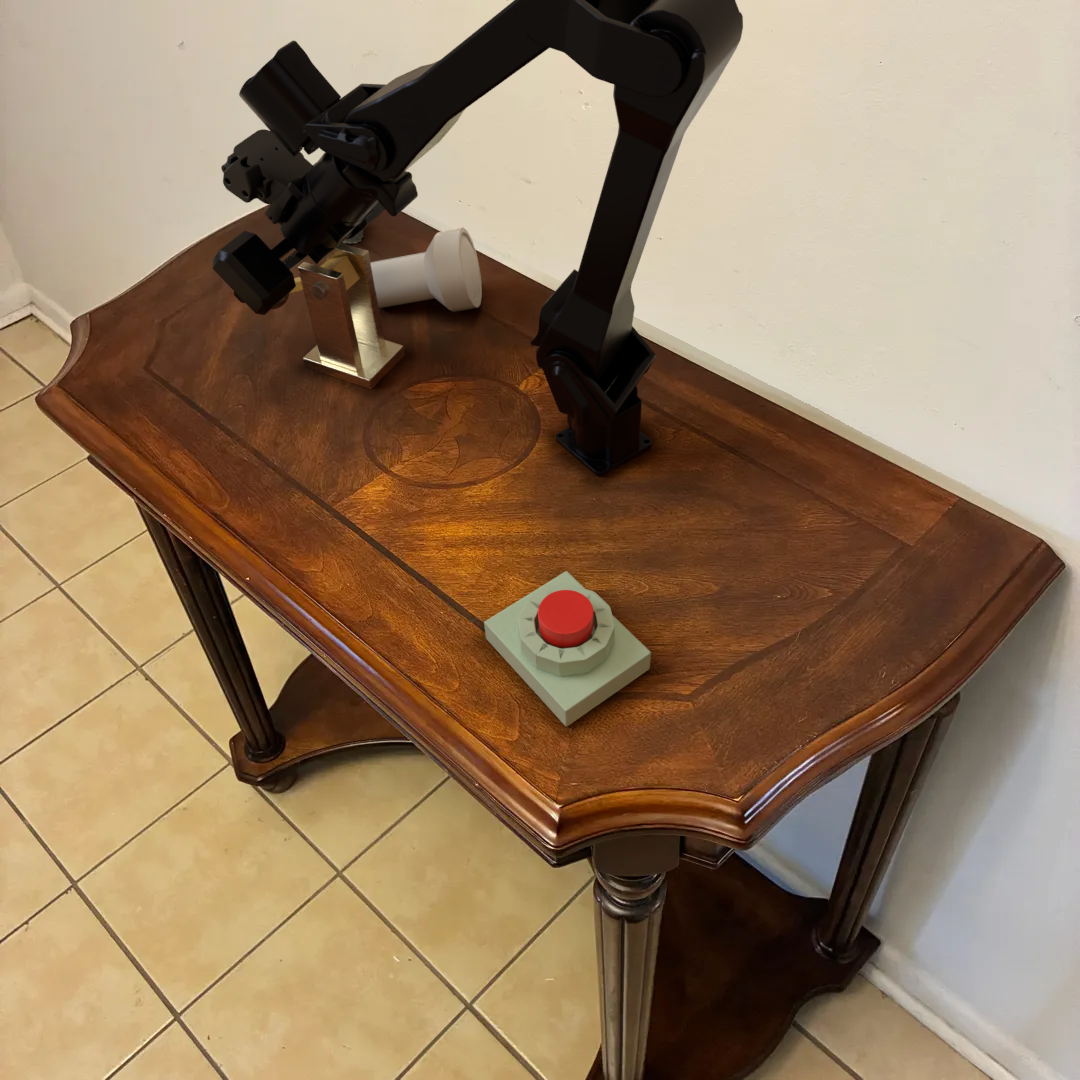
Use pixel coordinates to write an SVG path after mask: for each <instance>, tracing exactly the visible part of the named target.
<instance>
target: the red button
mask: <svg viewBox="0 0 1080 1080" xmlns="http://www.w3.org/2000/svg"><path fill="white" fill-rule="evenodd" d="M593 615H594V611H593V606H592V604H591V602H590V601H589V599H588V598H587V597H585V596H584V595H583V594H581V593H579V592H576V591H572V590H560V591H556V592H553V593H551V594H549V595H548V596H546V597H545V598H544V599H543V600H542V602H541V603H540V605H539V608H538V622H539V631H540V633H541V635H542V637H543V638H544V639H545V640H546V641H547V642H549V643H550V644H552V645H554V646H557V647H563V648H569V647H574V646H578V645H580V644H582V643H583V642H585V641H586V640H587V639H588V638H589V636H590V635H591V633H592V631H593Z"/></svg>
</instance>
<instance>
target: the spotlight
mask: <svg viewBox="0 0 1080 1080" xmlns="http://www.w3.org/2000/svg"><path fill="white" fill-rule="evenodd" d="M370 263H371V269H372V274H373V279H374V285H375V290H376V296H377V301H378V306H379V309H384V308H390V307H395V306H399V305H407V304H411V303H417V302H423V301H429V300H434V299H435V300H436V301H438V302H439V303H440V304H442V306H443V307H445V308H446V309H448V310H449V311H451V312H453V313H455V312H461V311H468V310H473V309H479V307H480V306H481V304H482V298H483V284H482V274H481V267H480V264H479V259H478V254H477V250H476V248H475V244H474V241H473V239H472V237H471V234H470V233H469V231H468V230H467V229H466V228H465V227H459V228H454V229H448V230H442V231H438V232H436V233H435V234H434V236H433V238H432V239H431V242H430V243H429V245H428V247H427V248H426V251H423V252H417V253H413V254H407V255H401V256H397V257H396V256H395V257H391V258H385V259H380V260H375V261H370Z"/></svg>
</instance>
